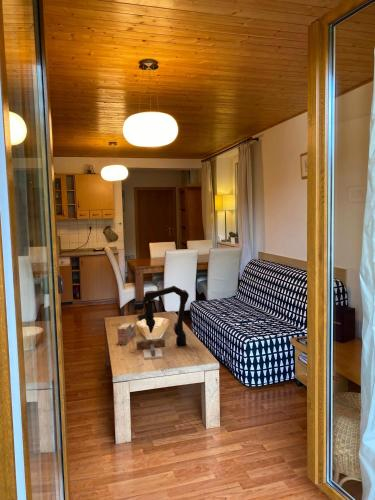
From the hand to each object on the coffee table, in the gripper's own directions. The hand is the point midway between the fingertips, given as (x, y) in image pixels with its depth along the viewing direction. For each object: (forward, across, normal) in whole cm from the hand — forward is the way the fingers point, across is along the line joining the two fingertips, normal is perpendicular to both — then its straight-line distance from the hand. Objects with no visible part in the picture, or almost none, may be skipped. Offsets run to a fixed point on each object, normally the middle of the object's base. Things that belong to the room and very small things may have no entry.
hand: (150, 330), depth 280 cm
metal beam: (+12, 0, 0) cm, 12 cm away
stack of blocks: (+12, -19, -16) cm, 28 cm away
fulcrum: (+12, +16, 0) cm, 20 cm away
